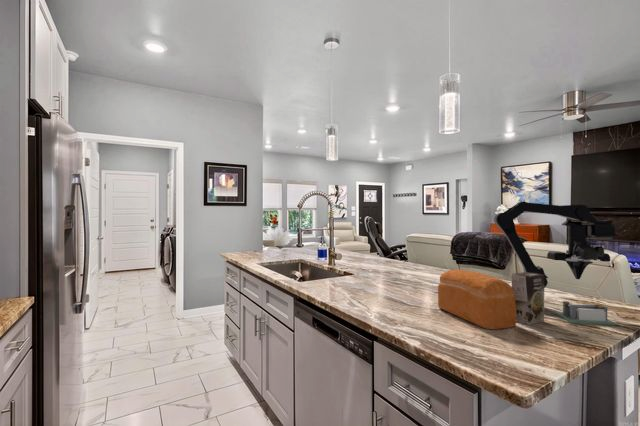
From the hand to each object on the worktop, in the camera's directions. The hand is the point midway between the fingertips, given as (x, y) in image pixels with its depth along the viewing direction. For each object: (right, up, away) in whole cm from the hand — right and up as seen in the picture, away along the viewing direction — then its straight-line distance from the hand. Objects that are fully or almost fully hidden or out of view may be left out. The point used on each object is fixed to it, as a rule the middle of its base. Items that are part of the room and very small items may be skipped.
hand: (577, 279), depth 123 cm
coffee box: (-26, -12, -11) cm, 31 cm away
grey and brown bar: (-6, -8, -10) cm, 14 cm away
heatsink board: (-6, -12, -10) cm, 16 cm away
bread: (-42, -12, -7) cm, 45 cm away
